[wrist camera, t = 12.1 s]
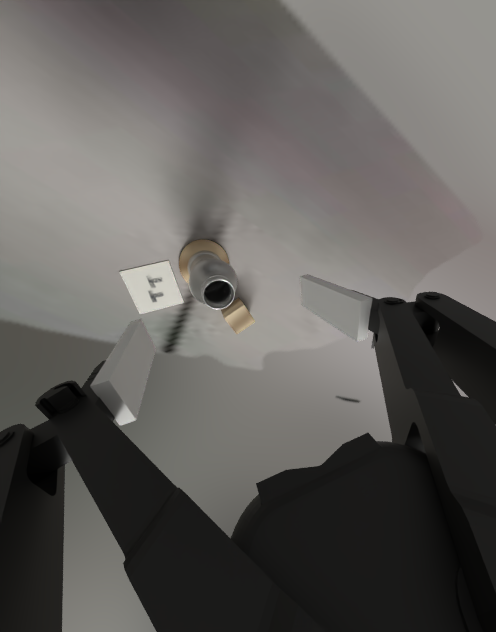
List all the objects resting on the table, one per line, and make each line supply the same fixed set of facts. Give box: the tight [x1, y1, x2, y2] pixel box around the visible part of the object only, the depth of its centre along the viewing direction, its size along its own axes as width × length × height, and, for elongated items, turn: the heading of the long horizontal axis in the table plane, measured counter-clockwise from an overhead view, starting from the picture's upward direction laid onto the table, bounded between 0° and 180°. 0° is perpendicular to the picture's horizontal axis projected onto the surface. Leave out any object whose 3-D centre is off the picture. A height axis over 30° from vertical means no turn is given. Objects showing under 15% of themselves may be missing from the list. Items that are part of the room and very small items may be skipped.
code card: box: [120, 261, 184, 314], centre depth 38 cm, size 9×9×1 cm
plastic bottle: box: [187, 250, 237, 310], centre depth 30 cm, size 6×7×20 cm
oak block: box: [221, 298, 255, 334], centre depth 43 cm, size 5×5×5 cm
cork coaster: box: [179, 239, 229, 284], centre depth 39 cm, size 10×10×1 cm
